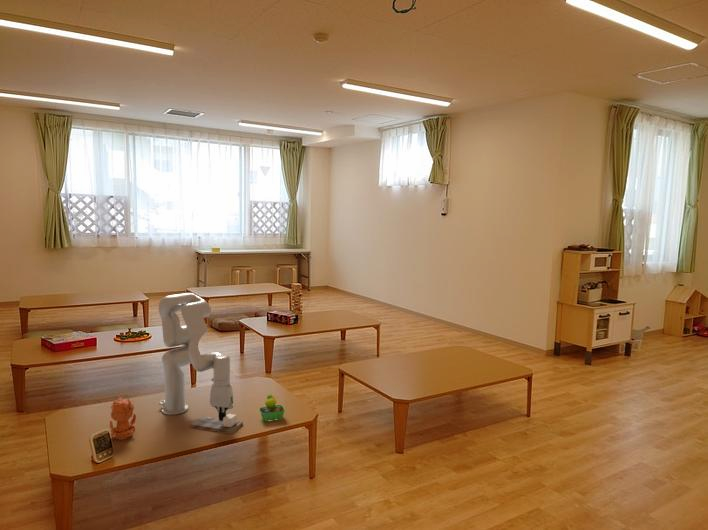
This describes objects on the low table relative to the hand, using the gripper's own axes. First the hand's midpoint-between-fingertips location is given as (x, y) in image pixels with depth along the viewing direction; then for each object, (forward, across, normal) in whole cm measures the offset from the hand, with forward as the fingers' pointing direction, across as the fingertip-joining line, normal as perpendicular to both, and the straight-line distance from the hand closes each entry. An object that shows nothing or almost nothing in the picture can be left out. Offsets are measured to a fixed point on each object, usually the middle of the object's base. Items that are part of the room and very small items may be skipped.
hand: (222, 419), depth 223 cm
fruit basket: (+4, +18, +16) cm, 24 cm away
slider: (+2, +4, 0) cm, 4 cm away
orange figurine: (+4, -37, -22) cm, 43 cm away
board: (+4, -3, 0) cm, 5 cm away
